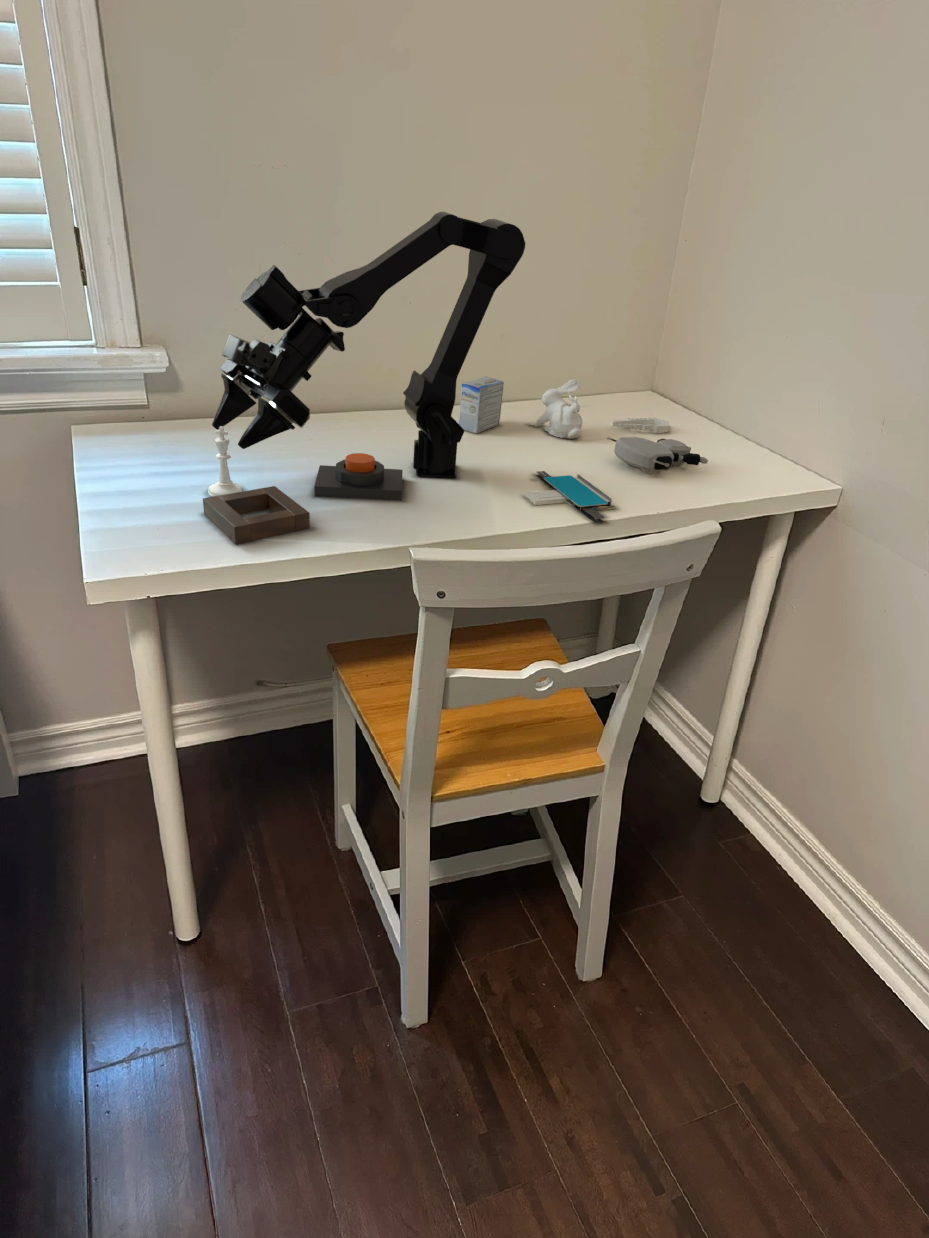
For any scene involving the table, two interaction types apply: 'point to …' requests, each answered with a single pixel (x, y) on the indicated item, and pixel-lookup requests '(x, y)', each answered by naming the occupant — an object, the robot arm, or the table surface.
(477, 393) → the medicine box
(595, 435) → the table surface
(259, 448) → the table surface
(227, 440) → the chess piece
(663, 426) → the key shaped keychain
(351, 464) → the orange push button
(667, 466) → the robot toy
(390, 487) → the push button base
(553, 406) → the rabbit figurine
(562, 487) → the phone stand
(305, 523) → the frame
